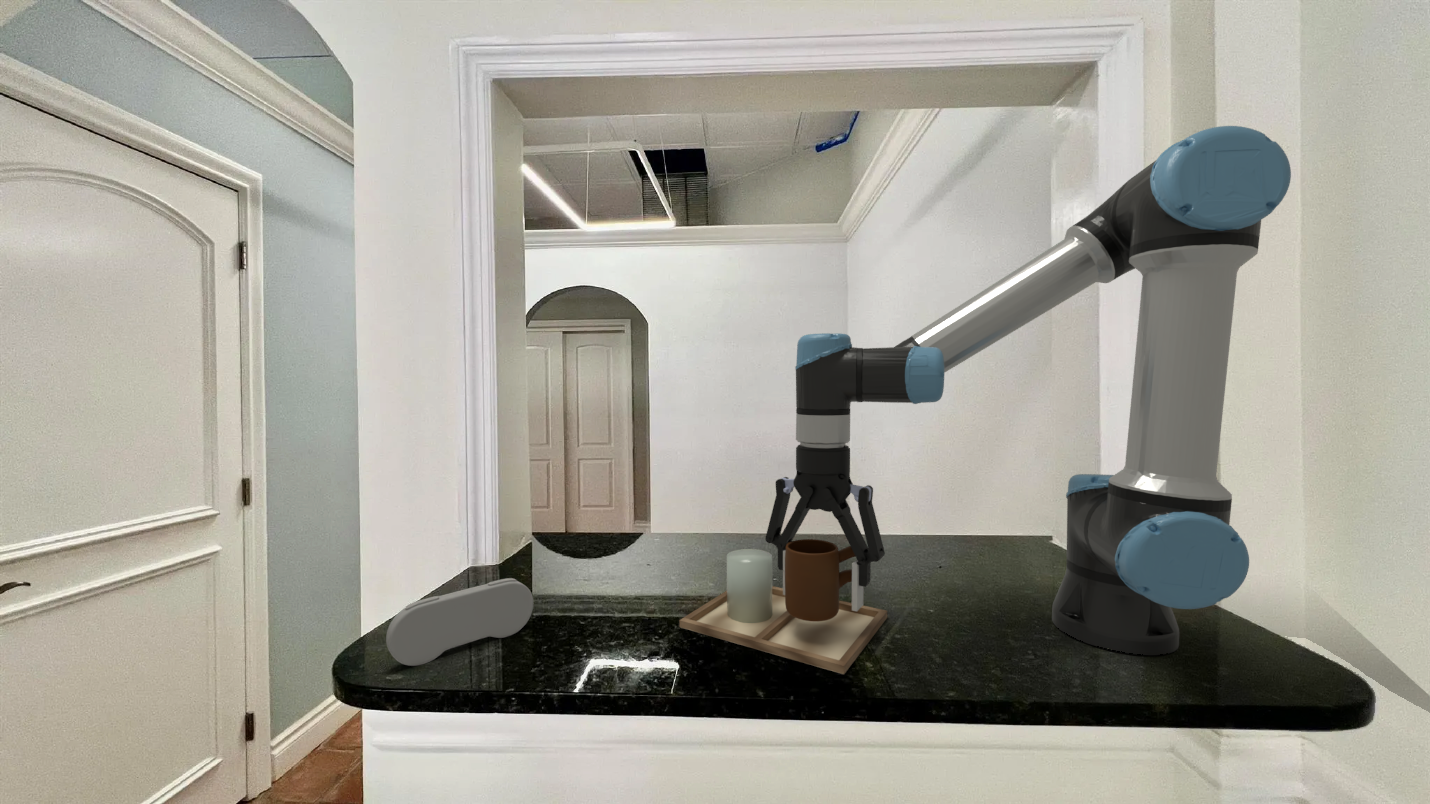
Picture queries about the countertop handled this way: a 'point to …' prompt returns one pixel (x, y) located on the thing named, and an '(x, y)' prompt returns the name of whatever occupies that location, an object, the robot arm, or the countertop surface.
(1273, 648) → the countertop surface
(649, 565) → the countertop surface
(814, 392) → the robot arm
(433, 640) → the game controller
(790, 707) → the countertop surface
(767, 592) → the pillar candle
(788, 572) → the mug
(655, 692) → the countertop surface
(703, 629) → the organizer
